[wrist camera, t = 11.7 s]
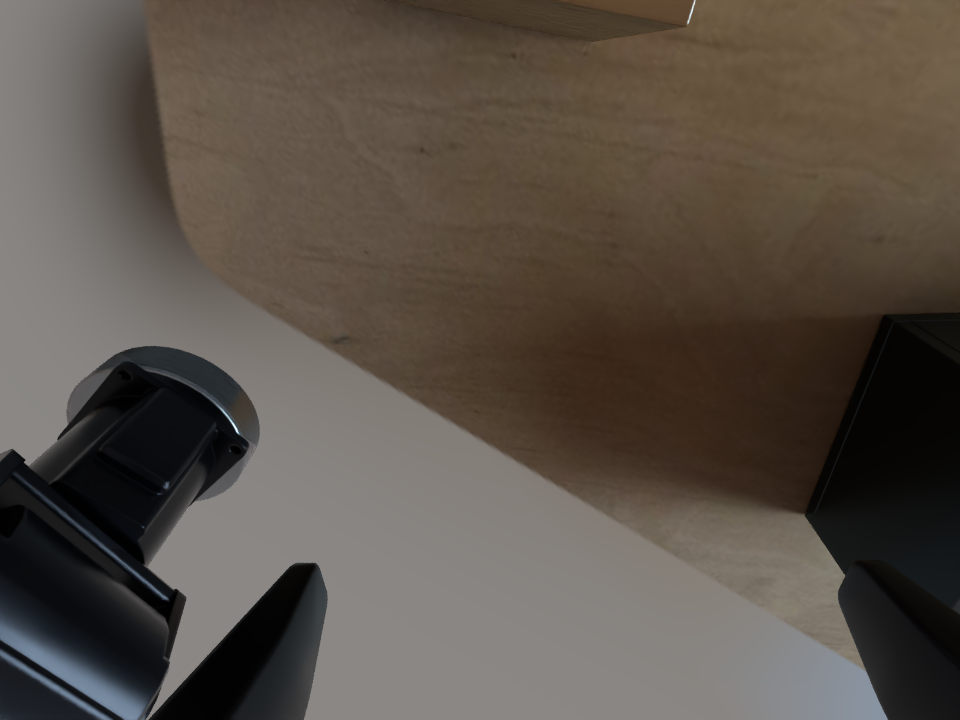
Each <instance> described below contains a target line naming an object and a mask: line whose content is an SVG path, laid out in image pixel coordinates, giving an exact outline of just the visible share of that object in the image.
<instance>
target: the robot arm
mask: <svg viewBox="0 0 960 720" xmlns="http://www.w3.org/2000/svg"><path fill="white" fill-rule="evenodd" d="M125 371H126V372H128V373H129V374H130V375H128V374H127V373H126V372H125ZM57 440H58V441H57V442H56V443H55V444H54V445H52V446H51V447H50V448H49V449H48V450H47V451H46V452H44V453H43V454H42V455H41V456H40V457H39V458H38V459H36V460H35V461H34V462H33V463H32V464H31V465H30V466H27V465H26V464H25V463H24V461H25V459H24V458H23V457H21V456H20V455H19V454H18V453H17V452H16V451H15V450H13V449H10V450H8V451H6V452H3V453H1V454H0V720H146V718H147V717H148V715H149V714H150V712H151V710H152V708H153V706H154V704H155V702H156V700H157V698H158V695H159V692H160V690H161V686H162V684H163V681H164V679H165V677H166V675H167V673H168V669H169V664H170V662H169V658H170V654H171V651H172V648H173V644H174V641H175V637H176V634H177V630H178V627H179V623H180V620H181V616H182V612H183V609H184V605H185V602H186V596H184V595H183V594H182V593H181V592H180V591H179V590H177V589H174V590H173V589H172V588H171V587H170V586H169V585H167V584H166V583H165V582H164V581H163V580H162V579H160V578H159V577H158V576H157V575H156V574H154V573H153V572H152V571H151V570H150V569H149V568H147V566H148V565H149V564H150V562H151V561H152V559H153V558H154V556H155V555H156V553H157V552H158V551H159V549H160V548H161V546H162V545H163V543H164V541H165V540H166V539H167V537H168V536H169V534H170V533H171V531H172V530H173V528H174V527H175V526H176V524H177V522H178V521H179V520H180V518H181V517H182V515H183V514H184V512H185V511H186V509H187V508H188V507H189V506H190V505H191V504H192V503H193V502H194V501H196V500H197V499H198V498H199V497H200V496H201V495H202V494H203V493H204V492H205V491H206V490H208V489H209V488H210V487H211V486H212V485H213V484H214V483H215V482H216V481H217V480H219V479H220V478H221V477H222V476H223V475H224V474H225V473H226V472H227V471H228V470H229V469H231V468H232V467H233V466H234V465H235V464H236V463H237V462H238V461H239V460H240V459H242V458H243V457H244V456H245V454H246V452H247V451H248V449H249V443H248V441H247V440H246V439H245V438H243V437H242V436H240V435H239V434H237V433H236V432H234V431H233V430H231V429H230V428H229V427H227V426H226V425H224V424H223V423H221V422H220V421H218V420H217V419H215V418H214V417H213V416H211V415H210V414H208V413H207V412H205V411H204V410H202V409H201V408H199V407H198V406H196V405H195V404H194V403H192V402H191V401H189V400H188V399H186V398H185V397H183V396H182V395H180V394H179V393H178V392H176V391H175V390H173V389H172V388H170V387H169V386H167V385H166V384H164V383H163V382H162V381H160V380H159V379H157V378H156V377H154V376H153V375H151V374H150V373H148V372H147V371H145V370H144V369H143V368H141V367H140V366H138V365H137V364H135V363H133V362H130V361H124V362H122V363H120V364H119V365H118V366H116V367H115V368H114V369H113V370H112V372H111V373H110V374H109V375H108V377H107V378H106V379H105V380H104V381H103V383H102V384H101V385H100V386H99V388H98V389H97V390H96V391H95V392H94V394H93V395H92V396H91V397H90V399H89V400H88V401H87V402H86V403H85V405H84V406H83V407H82V408H81V410H80V411H79V412H78V413H77V414H76V416H75V417H74V418H73V419H72V421H71V422H70V423H69V424H68V426H67V427H66V428H65V429H64V430H63V432H62V433H61V434H60V435H59V437H58V439H57ZM235 446H237V447H239V448H237V447H235ZM838 600H839V604H840V607H841V610H842V612H843V615H844V617H845V620H846V622H847V624H848V627H849V629H850V632H851V634H852V637H853V639H854V642H855V644H856V647H857V649H858V652H859V654H860V657H861V659H862V661H863V664H864V666H865V669H866V671H867V674H868V676H869V678H870V681H871V684H872V686H873V688H874V691H875V693H876V695H877V698H878V700H879V702H880V704H881V706H882V708H883V710H884V712H885V714H886V716H887V718H888V720H960V614H959V613H958V612H956V611H955V610H953V609H952V608H951V607H949V606H948V605H946V604H945V603H944V602H942V601H941V600H939V599H938V598H936V597H935V596H934V595H932V594H931V593H929V592H928V591H926V590H925V589H924V588H922V587H921V586H919V585H918V584H916V583H915V582H914V581H912V580H911V579H909V578H908V577H907V576H905V575H904V574H902V573H901V572H899V571H898V570H897V569H895V568H894V567H892V566H891V565H889V564H888V563H886V562H884V561H881V560H856V561H854V562H853V563H852V564H851V566H850V568H849V570H848V572H847V574H846V576H845V578H844V580H843V582H842V584H841V586H840V588H839V591H838ZM326 607H327V590H326V587H325V584H324V581H323V577H322V574H321V571H320V568H319V566H318V565H317V564H316V563H295V564H293V565H292V566H290V567H289V568H288V569H287V570H286V571H285V573H284V574H283V575H282V576H281V577H280V578H279V579H278V580H277V581H276V582H275V583H274V584H273V586H272V587H271V588H270V589H269V590H268V591H267V592H266V593H265V594H264V595H263V596H262V597H261V598H260V600H259V601H258V602H257V603H256V604H255V605H254V606H253V607H252V608H251V609H250V610H249V612H248V613H247V614H246V615H245V616H244V617H243V618H242V619H241V620H240V622H238V623H237V624H236V626H235V627H234V628H233V629H232V630H231V631H230V632H229V633H228V634H227V635H226V636H225V637H224V639H223V640H222V641H221V642H220V643H219V644H218V645H217V646H216V647H215V648H214V649H213V650H212V652H211V653H210V654H209V655H208V656H207V657H206V658H205V659H204V660H203V661H202V662H201V664H200V665H199V666H198V667H197V668H196V669H195V670H194V671H193V672H192V673H191V674H190V675H189V676H188V678H187V679H186V680H185V681H184V682H183V683H182V684H181V685H180V686H179V687H178V688H177V690H176V691H175V692H174V693H173V694H172V695H171V696H170V697H169V698H168V699H167V700H166V701H165V702H164V704H163V705H162V706H161V707H160V708H159V709H158V710H157V711H156V712H155V713H154V714H153V715H152V717H151V718H150V719H149V720H304V716H305V712H306V709H307V705H308V701H309V697H310V692H311V688H312V683H313V677H314V672H315V666H316V661H317V656H318V651H319V645H320V640H321V635H322V629H323V624H324V619H325V613H326Z"/></svg>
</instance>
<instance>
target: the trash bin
mask: <svg viewBox="0 0 960 720" xmlns="http://www.w3.org/2000/svg"><path fill="white" fill-rule="evenodd" d="M805 517H806V518H807V520H808V521H809V523H810V524H811V525H812V527H813V528H814V530H815V531H816V533H817V534H818V536H819V537H820V539H821V540H822V542H823V543H824V545H825V546H826V548H827V549H828V551H829V552H830V554H831V555H832V557H833V558H834V560H835V561H836V562H837V564H838V565H839V567H840V568H841V570H842V571H843V573H844V574H845V576H846V574H847V572H848V570H849V568H850V566H851V564H852V563H853V562H854V561H856V560H881V561H884V562H886V563H888V564H889V565H891V566H892V567H894V568H895V569H897V570H898V571H899V572H901V573H902V574H904V575H905V576H907V577H908V578H909V579H911V580H912V581H914V582H915V583H916V584H918V585H919V586H921V587H922V588H924V589H925V590H926V591H928V592H929V593H931V594H932V595H934V596H935V597H936V598H938V599H939V600H941V601H942V602H944V603H945V604H946V605H948V606H949V607H951V608H952V609H953V610H955V611H956V612H958V613H959V614H960V313H944V314H904V315H884V317H883V319H882V322H881V324H880V327H879V329H878V332H877V334H876V337H875V339H874V342H873V344H872V347H871V349H870V352H869V354H868V357H867V359H866V362H865V364H864V367H863V370H862V372H861V375H860V377H859V380H858V382H857V385H856V387H855V390H854V392H853V395H852V397H851V400H850V402H849V405H848V407H847V410H846V412H845V415H844V417H843V420H842V423H841V425H840V428H839V430H838V433H837V435H836V438H835V440H834V443H833V445H832V448H831V450H830V453H829V455H828V458H827V460H826V463H825V465H824V468H823V470H822V473H821V476H820V478H819V481H818V483H817V486H816V488H815V491H814V493H813V496H812V498H811V501H810V503H809V506H808V508H807V511H806V513H805Z"/></svg>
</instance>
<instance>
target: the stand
mask: <svg viewBox="0 0 960 720" xmlns="http://www.w3.org/2000/svg"><path fill="white" fill-rule="evenodd" d="M385 1H390V2H395V3H400V4H405V5H410V6H415V7H420V8H425V9H430V10H435V11H440V12H445V13H450V14H455V15H460V16H465V17H470V18H475V19H480V20H485V21H490V22H496V23H501V24H506V25H511V26H516V27H521V28H526V29H531V30H536V31H541V32H546V33H551V34H556V35H561V36H566V37H571V38H576V39H581V40H586V41H591V42H594V41H600V40H607V39H613V38H619V37H626V36H632V35H638V34H645V33H651V32H657V31H664V30H670V29H676V28H683V27H687V26H688V24H689V22H690V19H691V15H692V12H693V9H694V6H695V3H696V0H385Z"/></svg>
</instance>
